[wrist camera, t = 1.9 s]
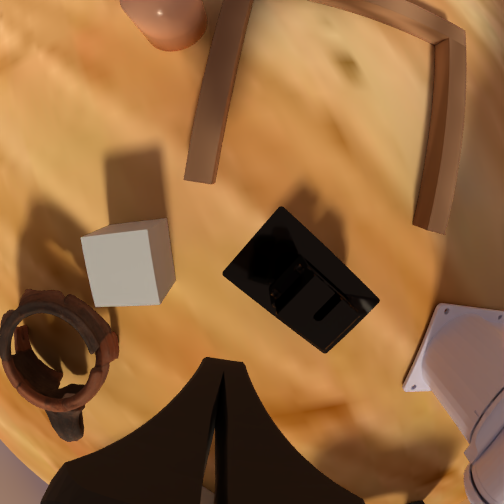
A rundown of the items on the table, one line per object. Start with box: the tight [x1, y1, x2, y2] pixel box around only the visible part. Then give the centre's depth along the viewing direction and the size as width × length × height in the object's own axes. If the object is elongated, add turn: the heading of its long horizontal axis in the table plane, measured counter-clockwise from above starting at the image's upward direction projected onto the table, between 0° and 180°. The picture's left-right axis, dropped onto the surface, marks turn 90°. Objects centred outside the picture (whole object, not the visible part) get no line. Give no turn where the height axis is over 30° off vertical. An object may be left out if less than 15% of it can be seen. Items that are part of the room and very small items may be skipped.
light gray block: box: [80, 218, 176, 307], centre depth 17 cm, size 4×4×4 cm
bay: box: [184, 0, 466, 235], centre depth 16 cm, size 16×15×2 cm
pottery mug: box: [0, 289, 119, 442], centre depth 19 cm, size 12×10×8 cm
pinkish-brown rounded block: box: [120, 0, 207, 51], centre depth 13 cm, size 4×4×5 cm
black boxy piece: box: [223, 206, 380, 353], centre depth 18 cm, size 12×7×5 cm, turn 49°
